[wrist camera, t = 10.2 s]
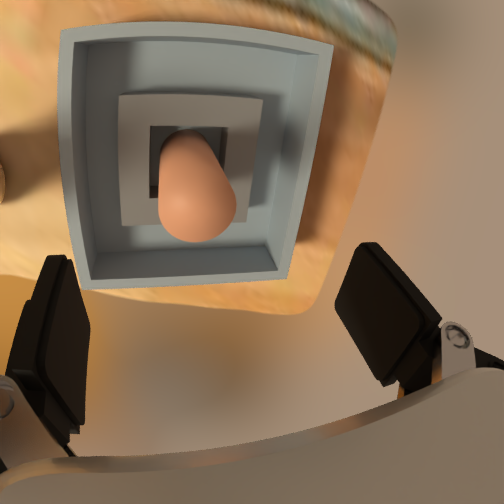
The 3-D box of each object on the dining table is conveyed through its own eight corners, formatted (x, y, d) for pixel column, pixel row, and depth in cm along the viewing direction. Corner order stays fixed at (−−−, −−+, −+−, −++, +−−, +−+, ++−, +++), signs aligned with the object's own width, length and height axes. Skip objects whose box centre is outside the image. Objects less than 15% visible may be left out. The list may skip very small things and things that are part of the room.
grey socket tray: (80, 35, 16) (61, 29, 12) (304, 46, 21) (333, 45, 17) (90, 255, 27) (82, 289, 23) (270, 248, 32) (286, 278, 28)
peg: (160, 129, 22) (158, 171, 14) (212, 129, 23) (240, 171, 15) (159, 177, 24) (159, 243, 16) (208, 176, 25) (232, 241, 17)
